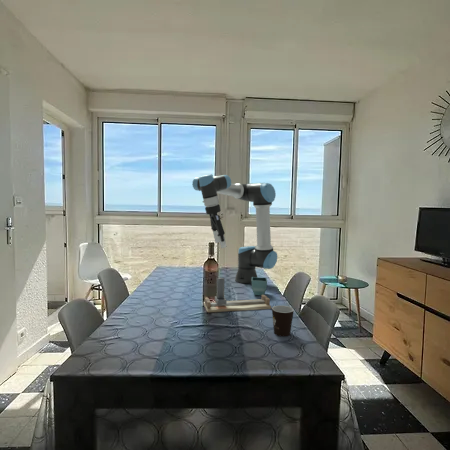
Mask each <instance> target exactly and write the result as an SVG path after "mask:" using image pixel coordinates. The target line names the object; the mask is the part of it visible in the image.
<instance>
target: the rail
mask: <svg viewBox="0 0 450 450" xmlns="http://www.w3.org/2000/svg"><path fill="white" fill-rule="evenodd" d="M260 296H261V299H242V300H238V299H237V300H227V302H226V304H220V305H218V304H217V303H216V301H211V300H210V298H209V297H208V296H207V297H204V302H205V303H204V302H203V306H204V308H205V310H206V313H221V312H238V311H256V310H257V311H258V310H270V309H271V310H272V305H271V303H270V302H271V299H270V298H269V297H268V296H267V295H265V294H264V295H260ZM211 302H212V303H211Z"/></svg>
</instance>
